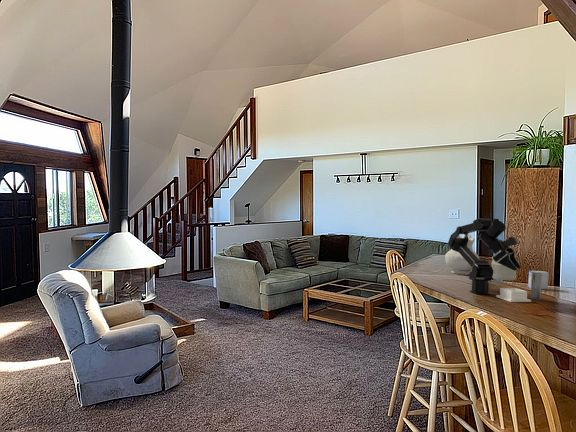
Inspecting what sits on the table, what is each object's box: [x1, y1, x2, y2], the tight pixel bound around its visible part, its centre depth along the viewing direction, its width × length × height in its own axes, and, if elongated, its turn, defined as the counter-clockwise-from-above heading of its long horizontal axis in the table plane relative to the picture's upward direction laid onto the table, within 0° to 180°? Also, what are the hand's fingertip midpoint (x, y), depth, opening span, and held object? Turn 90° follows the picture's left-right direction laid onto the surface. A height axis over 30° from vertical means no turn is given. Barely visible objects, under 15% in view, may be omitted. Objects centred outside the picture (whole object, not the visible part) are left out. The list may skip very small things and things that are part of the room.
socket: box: [495, 287, 532, 303], centre depth 196 cm, size 10×10×4 cm
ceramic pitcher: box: [444, 233, 480, 276], centre depth 268 cm, size 22×20×25 cm
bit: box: [529, 272, 542, 301], centre depth 197 cm, size 4×4×12 cm
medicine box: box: [527, 270, 550, 290], centre depth 225 cm, size 8×4×9 cm, turn 84°
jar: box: [491, 252, 518, 281], centre depth 253 cm, size 13×13×18 cm
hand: (518, 269), depth 195 cm, fingers open, 9 cm apart
